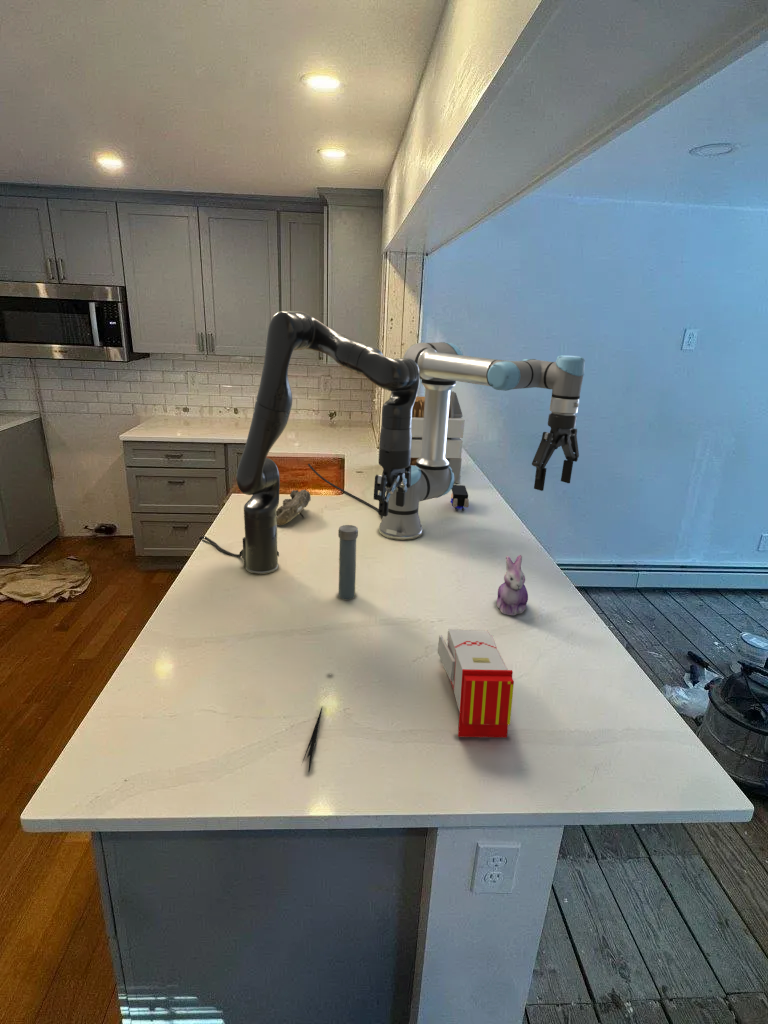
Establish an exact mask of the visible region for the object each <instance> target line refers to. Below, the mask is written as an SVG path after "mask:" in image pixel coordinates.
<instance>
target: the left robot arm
mask: <svg viewBox="0 0 768 1024" xmlns="http://www.w3.org/2000/svg"><path fill="white" fill-rule="evenodd" d="M303 350H311V351H315V352H319V353H322V354H325V355H327V356H328V357H330V358H331V359H332V360H333V361H335V363H337V364H338V365H339V366H341V367H342V368H344V369H346V370H348V371H350V372H351V373H355V374H357V375H360V376H361V377H365V378H366V379H367V380H368V381H370V382H371V383H372V384H374V385H376V386H377V387H379V388H380V389H383V390H385V391H388V392H390V396H389V398H388V399H387V400H386V401H384V403H383V405H382V407H381V408H382V409H381V425H380V432H379V444H378V465H379V466H380V467H382V469H383V470H382V474H375V476H374V486H373V500H374V501H378V509H379V512H378V515H379V516H380V517H381V516H385V517H386V516H387V515H388V504H389V501H388V500H389V497H390V495H391V494H392V493H393V492H394V489H395V488H396V489H397V490H398V491H396V505H397V506H400V507H403V506H404V505H405V492H407V488H410V486H411V465H410V458H411V442H412V433H411V425H412V409H413V405H414V402H415V399H416V397H417V394H418V391H419V387H420V382H421V379H420V372H419V368H418V365H417V364H416V362H415V361H414V360H412V359H410V358H403V357H399V358H392V357H388V356H386V355H384V354H383V352H382V351H381V350H380V349H378V348H377V347H375V346H372V345H370V344H367V343H365V342H363V341H360V340H358V339H355V338H353V337H351V336H347V335H345V334H343V333H341V332H338V331H336V330H335V329H333V328H331V327H329V326H327V325H326V324H324V323H323V322H321V321H320V320H318V319H317V318H316V317H313V316H312V315H311V314H309V313H307V312H304V311H301V310H296V311H295V310H279V311H278V312H276V313H275V314H274V315H273V316H272V317H271V319H270V322H269V324H268V328H267V335H266V345H265V352H264V353H265V354H264V361H263V366H262V372H261V376H260V382H259V388H258V390H257V394H256V395H257V396H256V399H255V402H254V407H253V413H252V419H251V423H250V426H249V430H248V435H247V438H246V441H245V445H244V449H243V452H242V454H241V456H240V459H239V462H238V466H237V469H236V474H235V478H236V479H235V480H236V486H237V487H238V489H239V491H240V492H241V493H242V494H244V495H247V496H251V497H250V498H249V499H248V501H246V502H245V503H244V504H243V505H244V506H243V519H244V520H243V521H244V522H243V523H244V537H242V549H241V550H240V551H239V553H238V554H236V553H232V552H230V551H228V550H226V549H224V548H223V547H221V546H220V545H219V544H218V543H216V542H215V541H214V540H212V539H211V538H209V537H207V536H205V535H202V536H200V537H199V538H198V540H199V541H201V540H206V541H207V542H209V543H210V544H212V545H213V546H214V547H215V548H216V549H217V550H218V551H220V552H222V553H224V554H226V555H229V556H231V557H235V558H241V559H242V560H243V568H244V569H245V570H246V571H247V572H248V573H250V574H254V575H267V574H271V573H273V572H276V571H277V570H278V568H279V562H278V560H279V559H278V558H279V557H280V553H279V550H278V525H277V509H278V508H279V504H280V491H281V490H280V489H281V487H280V486H281V485H280V484H281V479H280V478H281V476H280V471H279V468H278V466H277V464H276V462H274V460H272V459H271V458H269V457H268V455H269V453H270V451H271V449H272V448H273V446H274V445H275V443H276V442H277V441H278V439H279V438H280V437H281V435H282V433H283V432H284V430H285V429H286V427H287V425H288V422H289V419H290V415H291V410H292V407H293V393H292V389H291V385H290V381H289V375H288V373H289V366H290V362H291V358H292V355H293V353H294V351H303ZM405 478H406V479H407V482H406V479H405ZM386 493H387V494H386ZM204 537H205V539H204Z"/></svg>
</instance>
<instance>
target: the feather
mask: <svg viewBox="0 0 768 1024" xmlns="http://www.w3.org/2000/svg"><path fill="white" fill-rule="evenodd" d="M329 675H330V676H331V675H332V674H331V673H330V674H329ZM322 710H323V707H321V708H320V710H319V713H318V716H317V719H316V723H315V725H314V728H313V731H312V733H311V737H310V739H309V742H308V745H307V748H306V751H305V754H304V757H303V760H302V763H301V767H302V765H303V763H304V761H305V758H308V759H309V760H308V762H307V763H308V764H307V766H308V771H310V770H311V766H312V765H311V764H312V760H313V757H315V756H314V755H315V751H316V749H315V746H317V739H318V733H319V729H320V722H321V717H322V712H323V711H322ZM313 754H314V755H313ZM306 755H307V757H306Z"/></svg>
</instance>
